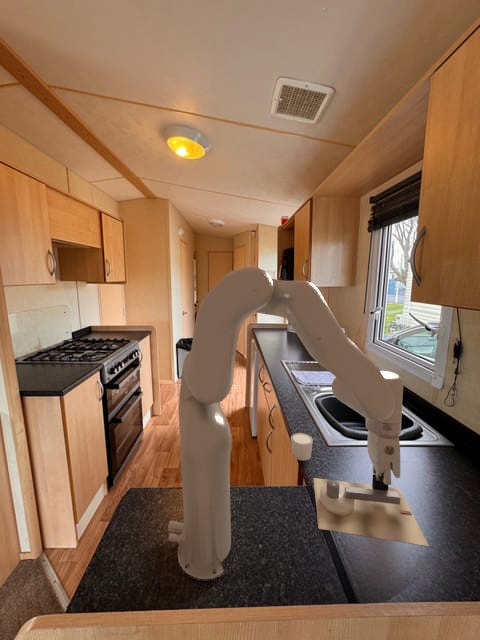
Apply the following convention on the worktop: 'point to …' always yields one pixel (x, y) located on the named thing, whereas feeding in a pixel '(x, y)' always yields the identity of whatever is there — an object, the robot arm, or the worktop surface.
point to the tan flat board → (371, 518)
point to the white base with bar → (351, 497)
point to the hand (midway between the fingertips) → (379, 491)
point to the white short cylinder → (301, 446)
